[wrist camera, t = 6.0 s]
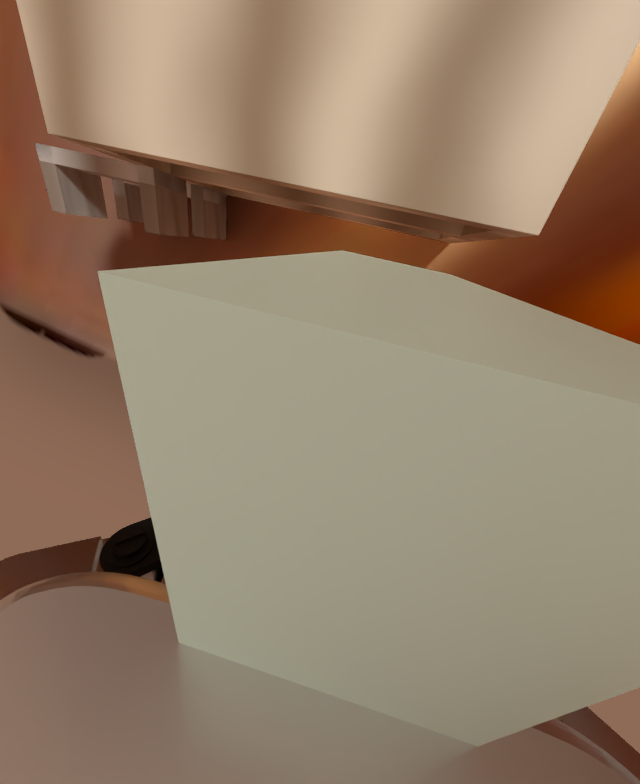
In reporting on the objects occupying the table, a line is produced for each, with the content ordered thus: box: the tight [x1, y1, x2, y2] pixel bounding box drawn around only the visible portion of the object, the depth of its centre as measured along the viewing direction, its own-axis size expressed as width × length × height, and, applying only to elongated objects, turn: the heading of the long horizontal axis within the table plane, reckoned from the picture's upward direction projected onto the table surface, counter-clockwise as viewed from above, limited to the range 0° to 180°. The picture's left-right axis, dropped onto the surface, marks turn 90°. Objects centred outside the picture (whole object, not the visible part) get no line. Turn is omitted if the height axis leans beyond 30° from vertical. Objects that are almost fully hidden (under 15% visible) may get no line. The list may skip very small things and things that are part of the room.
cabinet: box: [16, 0, 640, 243], centre depth 15 cm, size 26×11×13 cm, turn 79°
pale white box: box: [98, 250, 640, 746], centre depth 8 cm, size 5×12×10 cm, turn 169°
